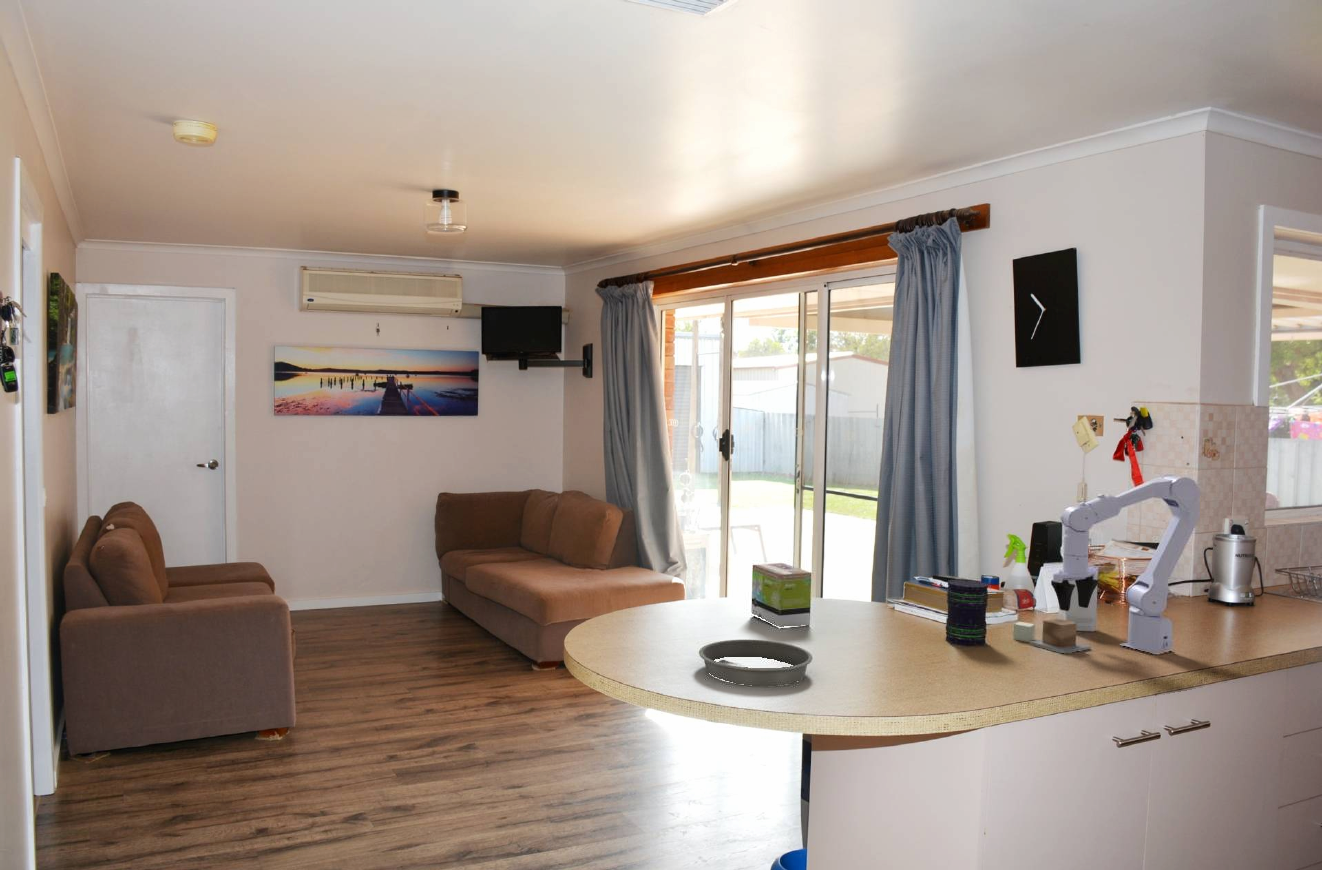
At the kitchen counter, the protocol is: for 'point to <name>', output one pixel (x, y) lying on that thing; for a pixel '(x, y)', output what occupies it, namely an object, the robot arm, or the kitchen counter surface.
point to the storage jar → (966, 612)
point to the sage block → (1024, 631)
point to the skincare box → (1081, 611)
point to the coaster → (1059, 649)
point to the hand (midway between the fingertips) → (1073, 608)
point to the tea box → (781, 594)
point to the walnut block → (1059, 632)
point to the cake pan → (756, 649)
